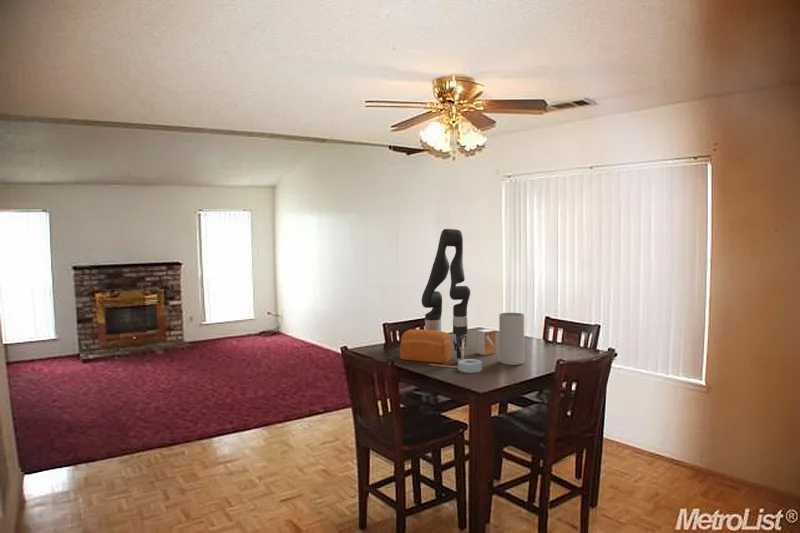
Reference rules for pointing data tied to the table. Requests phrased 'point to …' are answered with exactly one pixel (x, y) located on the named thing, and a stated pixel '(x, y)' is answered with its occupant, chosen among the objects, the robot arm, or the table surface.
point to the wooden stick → (443, 366)
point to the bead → (469, 365)
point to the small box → (486, 341)
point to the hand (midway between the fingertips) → (460, 357)
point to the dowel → (461, 352)
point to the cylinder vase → (511, 338)
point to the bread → (425, 346)
